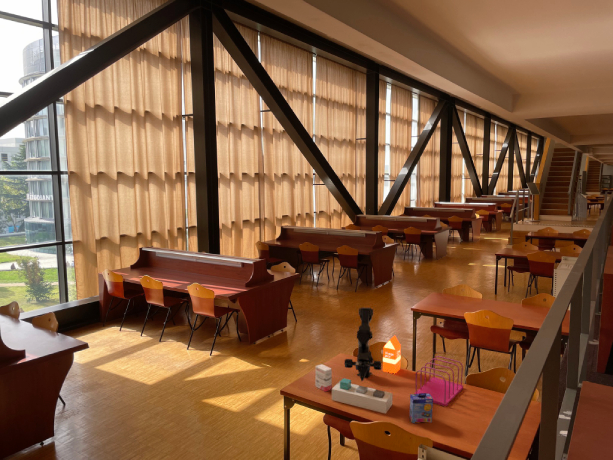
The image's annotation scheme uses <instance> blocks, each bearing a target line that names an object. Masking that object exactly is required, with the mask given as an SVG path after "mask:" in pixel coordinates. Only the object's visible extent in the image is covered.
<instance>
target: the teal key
mask: <svg viewBox="0 0 613 460" xmlns="http://www.w3.org/2000/svg"><path fill="white" fill-rule="evenodd" d="M339 381H340V389H345V390H349V389H350V388H351V384H352V379H348V378H345V377H344V378H342V379H341V380H339Z"/></svg>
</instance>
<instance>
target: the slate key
mask: <svg viewBox="0 0 613 460" xmlns="http://www.w3.org/2000/svg"><path fill="white" fill-rule="evenodd" d="M368 388H369V387H368V386H362V385H359V387H358V388H357V389H356V392H357V393H361V394H365V393H366V392H367V389H368Z"/></svg>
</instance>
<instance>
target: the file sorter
mask: <svg viewBox="0 0 613 460" xmlns="http://www.w3.org/2000/svg"><path fill="white" fill-rule="evenodd" d="M439 358H440V359H439ZM442 359H444V360H442ZM446 360H449V361H446ZM432 361H433V362H432ZM436 361H439V362H442V363H446V364H451V365H454V366H455V367H456V368H457V379H456V382H455V372H454V369H453V368H451V367H450V366H445V365H442V364H437V363H436ZM450 361H453V362H456V363H458V364H460V365H461V373H460V367H459V366H458V364H456V363H453V362H450ZM427 365H429V366H427ZM432 365H433V367H432ZM436 366H439V367H442V368H446V369H450V370H451V372H452V381H451V375H450V373H449V372H447V371H446V370H441V369H439V368H438V369H437V368H436ZM423 369H424V370H423ZM427 369H429V371H427ZM432 370H433V372H432ZM436 371H438V372H441V373H445V374H447V376H448V380H447V379H446V378H445V377H444V376H443V375H441V374H437V373H435V372H436ZM463 371H464V366H463V363H462V362H461V361H459V360H455V359H451V358H449V357H448V358H447V357H444V356H440V355H437V356H435V357H434V358H431V360H430V361H429V362H426V363H425V364H424V366H422V367H421V368H420V370H419V369H418V370H417V371H416V372H415V392H414V393H413V394H419V393H426V394H430V395H431V397H432V398H433V404H435V405H438V404H439V406H441V405H442V407H444V406H446V407H448V405H449V404H450V403H451V402H452V401H453V400H454V399H455V398H456V397H457V396H458V395H459V394H458V393H460V392H462V391H463V389H464V385H463V373H464V372H463ZM419 372H420V378H419V379H420V382H419V383H420V384H419V387H420V388H418V373H419ZM422 373H424V384H422V383H423V382H422V379H423V377H422V376H423V375H422ZM427 374H429V376H428V377H429V378H428V380H427ZM460 374H461V375H460ZM431 375H433V376H432V377H431ZM435 376H436V377H435ZM437 376H438V377H437ZM439 377H440V378H439ZM459 379H460V380H459ZM459 381H460V384H459ZM457 394H458V395H457ZM456 395H457V396H456ZM455 396H456V397H455ZM454 397H455V398H454ZM453 398H454V399H453ZM452 399H453V400H452ZM451 400H452V401H451ZM450 401H451V402H450ZM449 402H450V403H449ZM448 403H449V404H448Z"/></svg>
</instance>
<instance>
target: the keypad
mask: <svg viewBox="0 0 613 460" xmlns="http://www.w3.org/2000/svg"><path fill="white" fill-rule="evenodd" d="M340 381H341V380H339V381H338V382H337V383H336V384H335V385H334V386H332V389H331V401H335V402H339V403H341V404H343V403H344V404H347V405H351V406H353V407H358V408H362V409H366V410H371V411H373V412H377V413H382V414H387V413H388V411H389V410H390V408H391V407H392V405H393V393H392V392H390V391H389V392H388V391H384V390H383V391H384V396H383V398H378V397H374V396H373V393H374V391H375V390H377V388H373V387H368V389H367V392H366V393H365V394H361V393H357V392H356V389H357V388H358V387H359V386H360V385H358V384H355V383H351V388H350V389H349V390H345V389H340Z"/></svg>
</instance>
